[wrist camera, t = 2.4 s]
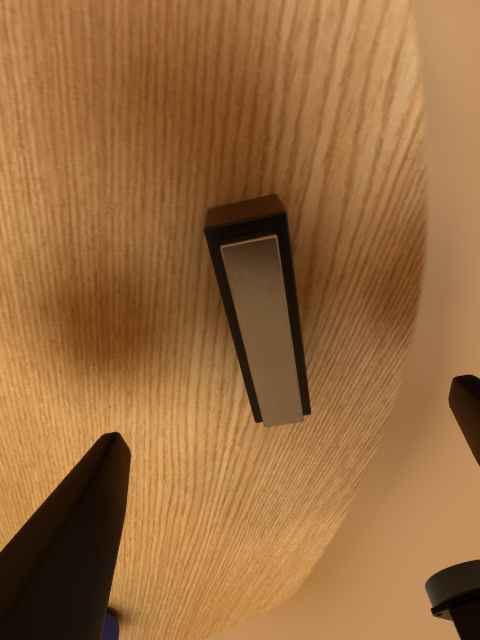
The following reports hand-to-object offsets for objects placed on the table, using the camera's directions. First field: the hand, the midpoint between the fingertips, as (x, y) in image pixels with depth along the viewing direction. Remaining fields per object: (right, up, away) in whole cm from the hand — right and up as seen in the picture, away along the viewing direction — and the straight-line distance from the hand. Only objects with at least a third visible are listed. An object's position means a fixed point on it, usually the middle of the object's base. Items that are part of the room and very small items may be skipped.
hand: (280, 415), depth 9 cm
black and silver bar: (0, +3, +4) cm, 5 cm away
